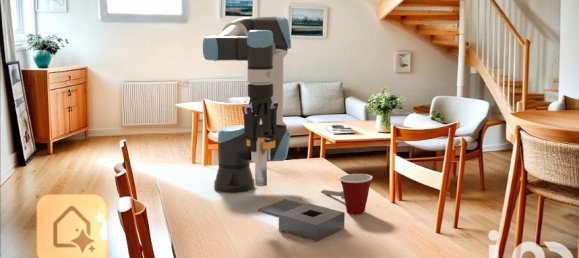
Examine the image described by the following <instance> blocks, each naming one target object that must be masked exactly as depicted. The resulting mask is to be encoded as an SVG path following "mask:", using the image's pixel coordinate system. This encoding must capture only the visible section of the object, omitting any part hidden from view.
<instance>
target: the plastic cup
mask: <svg viewBox="0 0 579 258" xmlns="http://www.w3.org/2000/svg"><path fill="white" fill-rule="evenodd" d="M338 180H339V181H340V183H341V184H340V185H341V186H342V191H343V193H344V199H343V200H344V202H345V209H346V212H347V214H349V215H350V214H351V215H357V216H358V215H363V214H364V213H365V211H366V207H367V206H366V205H367V202H368V198H369V197H368V196H369V192H370V187H371V182H372V180H373V175H370V174H367V173H351V174H350V173H349V174H344V175H342V176H340V177H339V178H338Z"/></svg>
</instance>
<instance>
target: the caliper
mask: <svg viewBox="0 0 579 258" xmlns="http://www.w3.org/2000/svg"><path fill="white" fill-rule="evenodd" d="M320 193H322V194H324V195H330V196H336V197H340V198H341V200H345V199H344V193H343V190H341V191H336V190H331V189H330V190H329V189H322V190H321V191H320Z"/></svg>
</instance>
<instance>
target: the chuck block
mask: <svg viewBox="0 0 579 258" xmlns="http://www.w3.org/2000/svg"><path fill="white" fill-rule="evenodd" d="M303 204H304V205H301V206H299V207H296V208H294V209H291V210H289V211H286V212H283V213H281V214H279V217H278V231H280V232H283V233H285V234H290V235H293V236H295V237H300V238H303V239H306V240H309V241H312V242H315V243H318V242H319V241H321V240H324V239H325V238H327V237H329V236H331V235H334V234H336V233H338V232H340V231H342V230H344V229H345V214H346V213H345V211H340V210H336V209H332V208H328V207H324V206H321V205H316V204H312V203H310V202H309V203H308V202H307V203H303Z"/></svg>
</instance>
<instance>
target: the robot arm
mask: <svg viewBox="0 0 579 258" xmlns="http://www.w3.org/2000/svg"><path fill="white" fill-rule="evenodd" d="M289 25H290V24H289V20H288V18H287V17H283V16H282V17H281V16H276V15H275V16H245V17H240V18H238V19H235V20H234V19H233V20H231V21H229V22H228V23H227V24H225V26H224V27H223V29H222V31H221V32H220V33H219V34H218V35H209V36H208V35H207V36H206V35H205V37H204V38H203V40H202V55H203V58H204V60H206V61H213V62H217V61H219V62H220V61H221V62H222V61H225V62H226V61H237V62H240V61H242V62H243V61H245V62H246V61H247V82H248V83H249V84H247V96H248V97H249V102H248V105H246V106H242V108H241V110H242V113H243V124H239V125H238V124H237V125H231V126H227V127H223V128H221V129H220V130H219V131H218V135H217V148H218V149H217V151H218V153H217V155H218V157H217V161H218V169H217V172H216V178H215V179H214V182H213V188H214V190H215V191H217V192H219V193H220V192H221V193H227V194H237V193H246V192H250V191H252V190H254V189H255V179H254V178H253V173H252V171H251V167H250V166H251V165H250V164H251V163H250V162H252V163H255V162H256V163H260V141H257V140H258V138H263V139H269V140H274V141H275V147H274V148H270V149H267V162H282V161H283V162H284V161H285V160H286V159H287V157H288V152H289V147H290V138H291V130H290V129H288V128H287V124H286V122H284V120H283V117H284V116H283V115H284V58H285V56H286V55H288V53H289V52H288V49H291V48H292V41H291V34H290V33H291V31H290V26H289ZM247 140H250V146H247Z"/></svg>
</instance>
